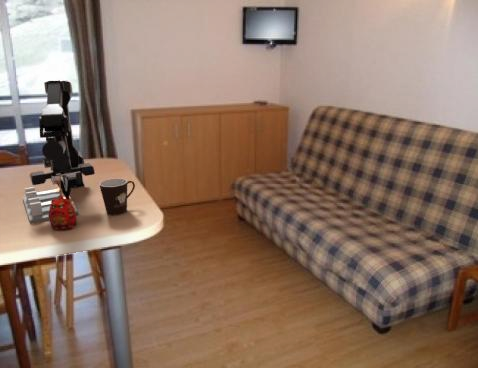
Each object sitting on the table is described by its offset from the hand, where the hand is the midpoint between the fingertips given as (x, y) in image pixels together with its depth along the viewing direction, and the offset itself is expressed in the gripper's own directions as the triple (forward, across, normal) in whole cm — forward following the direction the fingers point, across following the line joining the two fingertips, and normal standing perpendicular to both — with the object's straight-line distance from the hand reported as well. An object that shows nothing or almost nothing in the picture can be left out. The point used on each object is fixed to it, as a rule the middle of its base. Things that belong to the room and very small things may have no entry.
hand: (67, 198), depth 133 cm
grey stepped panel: (+4, +5, -6) cm, 9 cm away
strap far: (+1, +4, -12) cm, 13 cm away
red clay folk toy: (+4, +4, +14) cm, 15 cm away
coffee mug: (+4, -14, +11) cm, 18 cm away
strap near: (+1, +4, 0) cm, 4 cm away
